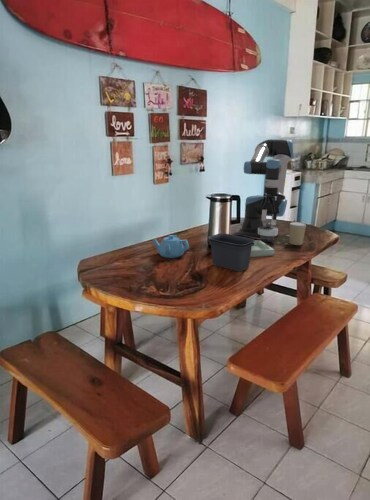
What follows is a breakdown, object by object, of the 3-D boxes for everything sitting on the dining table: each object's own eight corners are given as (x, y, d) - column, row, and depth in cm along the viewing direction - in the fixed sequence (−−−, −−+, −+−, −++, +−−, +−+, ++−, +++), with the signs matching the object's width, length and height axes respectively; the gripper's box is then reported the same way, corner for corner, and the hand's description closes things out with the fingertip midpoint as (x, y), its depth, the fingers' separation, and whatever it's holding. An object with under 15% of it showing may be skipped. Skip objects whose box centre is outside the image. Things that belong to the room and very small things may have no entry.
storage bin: (204, 264, 184) (205, 237, 179) (222, 257, 195) (223, 231, 190) (240, 275, 170) (242, 245, 166) (258, 267, 181) (260, 239, 177)
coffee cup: (302, 241, 226) (304, 222, 223) (305, 245, 217) (307, 225, 214) (286, 240, 227) (288, 221, 223) (289, 245, 218) (291, 225, 215)
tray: (229, 247, 213) (229, 241, 212) (259, 245, 217) (260, 240, 216) (240, 257, 195) (241, 251, 194) (274, 255, 199) (274, 249, 198)
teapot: (166, 261, 188) (166, 240, 185) (151, 253, 200) (151, 234, 197) (190, 256, 196) (191, 236, 193) (175, 249, 208) (175, 230, 205)
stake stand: (258, 240, 227) (259, 222, 224) (270, 239, 229) (271, 221, 226) (263, 244, 220) (265, 225, 216) (275, 243, 222) (277, 224, 218)
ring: (255, 232, 227) (255, 226, 226) (272, 231, 229) (272, 225, 228) (262, 236, 217) (263, 230, 216) (280, 235, 219) (280, 230, 218)
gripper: (256, 184, 225) (254, 218, 231) (275, 189, 202) (271, 227, 208) (268, 184, 227) (265, 218, 233) (287, 189, 204) (283, 226, 210)
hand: (268, 222), depth 220 cm, fingers open, 13 cm apart
